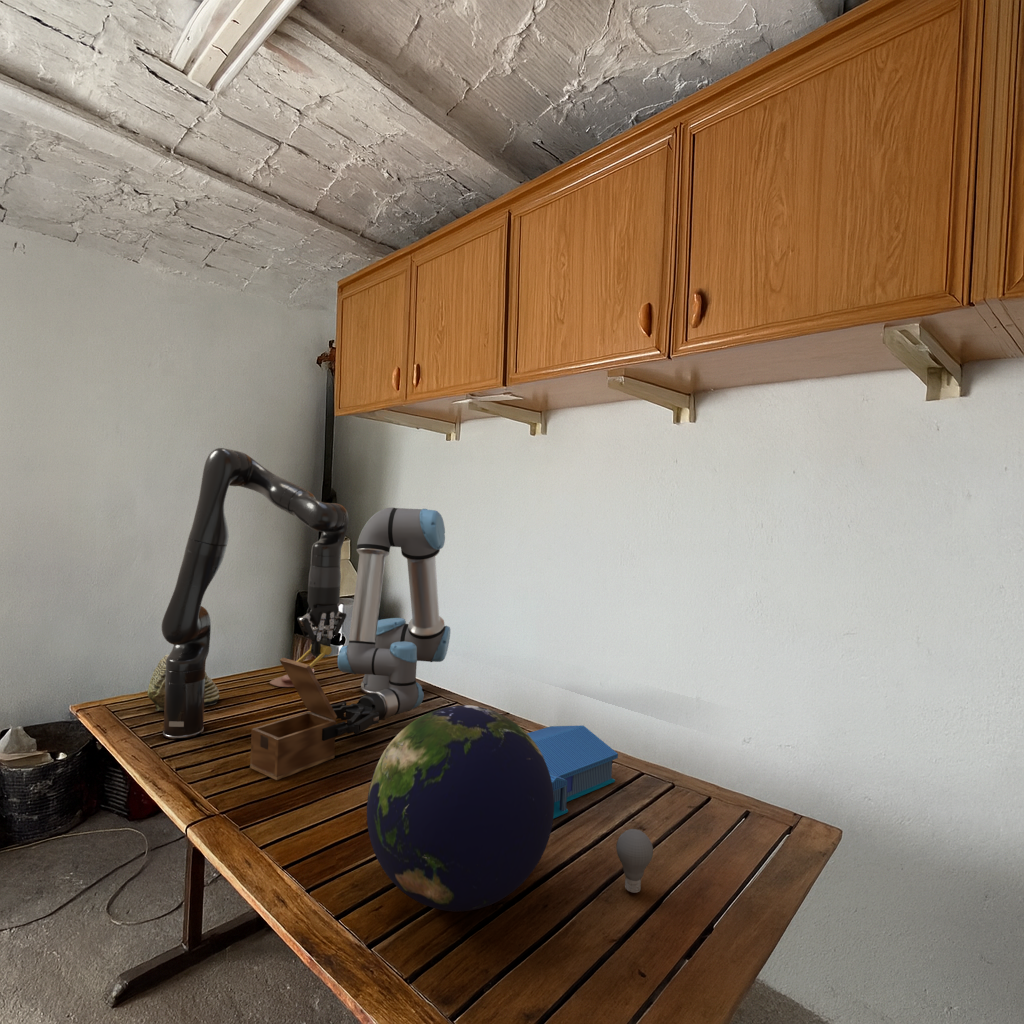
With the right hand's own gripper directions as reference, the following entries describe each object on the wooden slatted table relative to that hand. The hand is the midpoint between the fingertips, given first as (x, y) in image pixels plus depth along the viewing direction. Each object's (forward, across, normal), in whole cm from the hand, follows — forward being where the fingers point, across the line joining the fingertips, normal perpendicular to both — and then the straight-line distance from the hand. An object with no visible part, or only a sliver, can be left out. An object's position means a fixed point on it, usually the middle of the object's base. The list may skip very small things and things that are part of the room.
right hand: (308, 729), depth 153 cm
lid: (+1, 0, +10) cm, 10 cm away
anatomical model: (-35, +53, -7) cm, 64 cm away
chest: (+4, 0, -7) cm, 8 cm away
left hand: (-3, 0, +18) cm, 18 cm away
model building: (-19, -51, -7) cm, 55 cm away
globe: (+19, -62, -7) cm, 65 cm away
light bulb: (0, -84, -7) cm, 85 cm away
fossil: (0, +56, -7) cm, 57 cm away
